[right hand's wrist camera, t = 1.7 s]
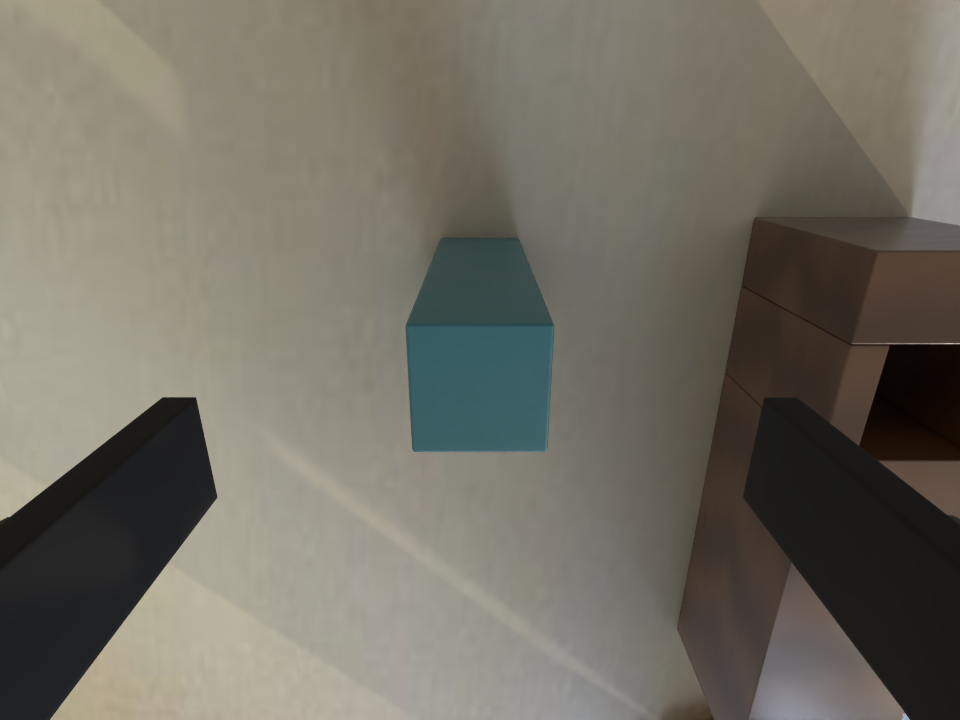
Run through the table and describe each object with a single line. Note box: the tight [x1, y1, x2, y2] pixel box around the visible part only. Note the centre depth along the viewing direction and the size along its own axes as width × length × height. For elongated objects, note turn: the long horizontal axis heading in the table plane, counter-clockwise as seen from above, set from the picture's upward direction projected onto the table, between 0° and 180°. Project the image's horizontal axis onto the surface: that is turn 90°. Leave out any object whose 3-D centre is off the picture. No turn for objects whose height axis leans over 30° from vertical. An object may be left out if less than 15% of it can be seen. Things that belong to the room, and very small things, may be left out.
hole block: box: [678, 218, 960, 720], centre depth 28 cm, size 28×8×9 cm, turn 0°
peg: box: [406, 239, 554, 452], centre depth 22 cm, size 4×4×14 cm
